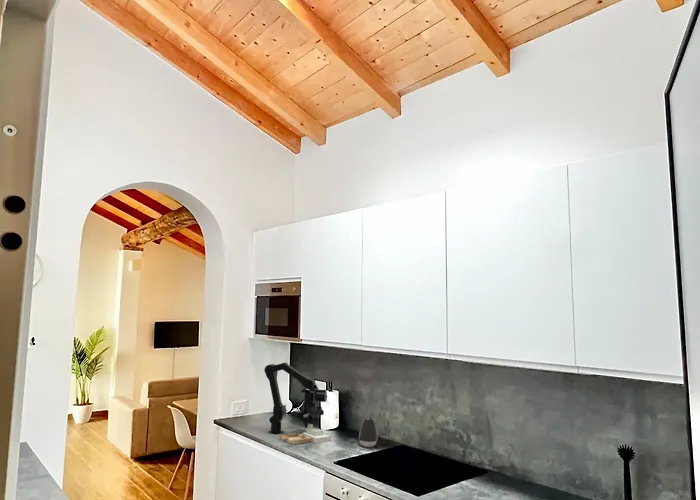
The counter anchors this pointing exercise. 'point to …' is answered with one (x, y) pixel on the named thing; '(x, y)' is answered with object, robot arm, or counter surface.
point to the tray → (295, 438)
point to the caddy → (313, 430)
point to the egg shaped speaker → (368, 433)
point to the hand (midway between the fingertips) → (307, 428)
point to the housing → (318, 438)
